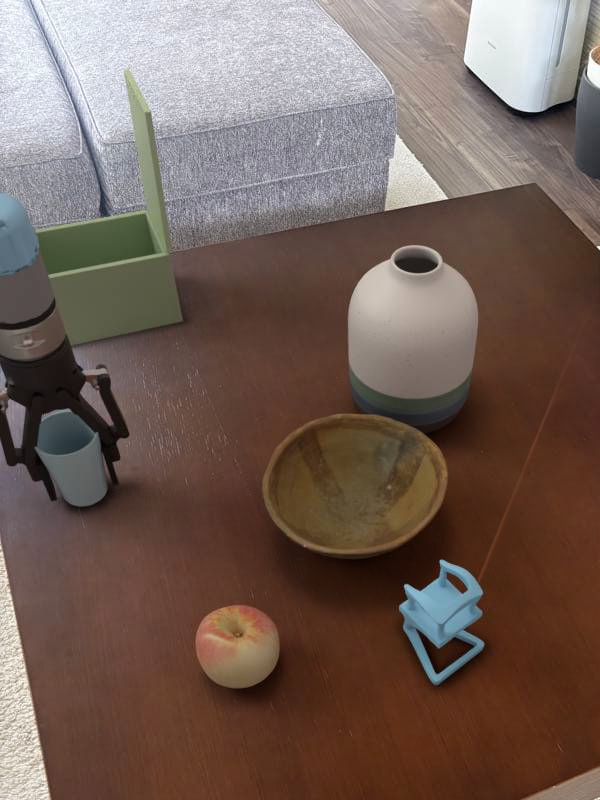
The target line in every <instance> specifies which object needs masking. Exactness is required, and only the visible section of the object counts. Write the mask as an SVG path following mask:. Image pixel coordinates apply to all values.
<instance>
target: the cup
mask: <svg viewBox="0 0 600 800" xmlns="http://www.w3.org/2000/svg"><path fill="white" fill-rule="evenodd" d="M34 448H35V450H36V451H37V453H38V455H39V457H40V458H41V460H42V462H43V463H44V465H45V467H46V469H47V470H48V472H49V474H50V477H51V479H52V481H53V483H54V485H56V487H57V489H58V491H59V492H60V494H61V496H62V498H63V499H64V500H65V501H66V502H67V503H68V504H69V505H72V506H75V507H89V506H92V505H95V504H96V503H98V502H99V501H101V500H102V499H103V498H104V497H105V496H106V493H107V491H108V482H107V474H106V469H105V463H104V462H105V460H104V456H103V453H102V450H101V443H100V438H99V435H98V432H96V434H95V433H94V432H93V431H92V430H91V429H90V428H89V426H88V425H87V424H86V423H85V422H84V421H83V420H82V419H81V418H80V417H79V416H78V415H75V414H74V413H73V412H72V411H71V410H60V411H57V412H54V413H51V414H49V415H47V416H45V417H44V418H43V417H42V419H41V424H40V427H39V435H38V444H37V447H34Z"/></svg>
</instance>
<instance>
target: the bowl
mask: <svg viewBox="0 0 600 800" xmlns="http://www.w3.org/2000/svg"><path fill="white" fill-rule="evenodd" d="M448 480H449V470H448V465H447V461H446V458H445V457H444V455H443V452H442V450H441V449H440V448H439V446H438V445H437V444H436V443H435V442H434V441H433V440H432V439H431V438H429V437H428V436H427V435H426V434H423V433H422V432H420V431H419V430H417V429H415V428H413V427H411V426H409V425H406V424H404V423H401V422H398V421H396V420H393V419H391V418H387V417H383V416H379V415H366V414H362V413H337V414H331V415H329V416H324V417H320V418H316V419H312V420H310V421H308V422H306V423H304V424H303V425H301V426H299V427H298V428H296V429H295V430H293V431H291V432H290V433H289V434H288V435H287V436H286V437H284V439H282V441H281V442H280V443H279V444H278V445H277V446H276V447H275V448H274V451H273V453H272V454H271V456H270V458H269V460H268V464H267V466H266V467H265V470H264V472H263V474H262V477H261V495H262V496H261V497H262V500H263V504H264V506H265V509H266V510H267V511H266V512H267V513H268V516H269V518H270V520H271V522H273V524H274V525H275V526H276V528H277V529H278V530H279V531H280V533H282V534H283V536H284V537H286V538H287V539H288V540H290V541H291V542H293V543H294V544H296V545H297V546H299V547H300V548H303V549H306V550H307V551H310V552H313V553H315V554H318V555H321V556H324V557H328V558H334V559H342V560H361V559H369V558H373V557H378V556H380V555H384V554H388V553H389V552H393V551H394V550H397V549H398V548H401V547H402V546H403V545H405V544H406V543H408V542H409V541H411V540H413V538H415V537H416V536H417V535H418V534H419V533H421V532H422V531H423V530H424V529H425V528H426V527H427V526H428V525H429V524H430V523H431V522H432V521H433V520H434V519H435V517H436V516H437V514H438V512H440V511H439V510H440V509H441V507H442V505H443V502H444V499H445V496H446V493H447V489H448V485H449V481H448Z"/></svg>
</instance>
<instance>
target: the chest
mask: <svg viewBox="0 0 600 800" xmlns="http://www.w3.org/2000/svg"><path fill="white" fill-rule="evenodd" d="M35 231H36V235H37V237H38V241H39V247H40V250H41V253H42V257H43V260H44V263H45V267H46V270H47V273H48V276H49V280H50V283H51V286H52V290H53V293H54V296H55V298H56V301H57V304H58V307H59V310H60V313H61V316H62V319H63V322H64V326H65V329H66V334H67V336H68V338H69V341H70V344H71V346H75V345H80V344H85V343H89V342H94V341H98V340H102V339H107V338H113V337H116V336H121V335H126V334H130V333H134V332H135V333H136V332H140V331H144V330H149V329H153V328H158V327H163V326H168V325H172V324H176V323H181V322H184V318H183V314H182V309H181V304H180V299H179V294H178V289H177V283H176V278H175V273H174V268H173V263H172V258H171V254H170V252H167V251H166V249H165V247H164V245H163V242H162V240H161V238H160V236H159V233H158V231H157V229H156V226H155V224H154V222H153V220H152V217H151V215H150V213H149V211H148V209H143V210H137V211H132V212H127V213H121V214H116V215H115V214H114V215H111V216H105V217H104V216H103V217H99V218H94V219H93V218H92V219H88V220H81V221H77V222H71V223H65V224H59V225H54V226H49V227H43V228H37V229H35Z"/></svg>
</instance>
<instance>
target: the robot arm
mask: <svg viewBox="0 0 600 800" xmlns="http://www.w3.org/2000/svg"><path fill="white" fill-rule="evenodd" d="M35 230H36V229H35V228H34V226H33V224H32V222H31V219H30V216H29V214H28V212H27V210H26V208H25V206H24V205H23V203H22V202H21V201H20V200H19V199H18V198H16V197H15V196H13V195H11V194H8V193H6V192H0V368H1V371H2V373H3V375H4V378H5V383H4V387H3V388H1V389H0V444H1V447H2V451H3V455H4V460H5V462H6V465H7V466H8V467H16V466H17V465H19V464H20V465H24V466H25V467H26V469H27V472H28V474H29V476H30V479H31V481H32V482H34V483H37V482H40V481H42V483H43V485H44V487H45V490H46V493H47V494H48V497H49V499H50V502H51V503H52V502H56V501H58V496H57V493H56V487H55V483H54V480H53V479H52V477H51V475H50V474H49V472H48V470H47V469H46V467H45V465H44V463H43V462H42V460H41V458H40V457H39V455H38V453H37V451H36V450H35V448H34V447H37V444H38V435H39V427H40V424H41V420H42V419H43V415H46V414H50V413H52V412H54V411H65V410H67V409H69V411H72V412H73V413H74V414H75V415H78V416H79V417H80V418H81V419H82V420H83V421H84V422H85V423H86V424H87V425H88V426H89V428H90V429H91V430H92V431H93V432H94V433H95V434H96V432H98V435H99V438H100V443H101V450H102V455H103V460H104V462H105V465H106V468H107V471H108V474H109V477H110V480H111V484H112V487H113V486H117V485H120V483H119V479H118V475H117V473H116V469H115V466H114V462H119V461H121V454H120V450H119V447H118V441H119V440H120V439H124V440H125V439H128V438H129V437H130V431H129V427H128V424H127V422H126V419H125V417H124V415H123V412H122V410H121V408H120V405H119V404H118V401H117V399H116V397H115V394H114V393H113V390H112V380H111V376H110V374H109V370H108V367H107V366H106V364H104V363H99V364H98V365H96V367H95V369H84V367H82V366H81V365H79V363H78V362H77V361H76V356H75V354H74V351H73V348H72V345H71V344H70V341H69V338H68V336H67V334H66V329H65V326H64V322H63V319H62V316H61V313H60V310H59V307H58V304H57V301H56V298H55V296H54V293H53V290H52V286H51V283H50V280H49V276H48V273H47V270H46V267H45V263H44V260H43V257H42V253H41V250H40V247H39V241H38V237H37V235H36V231H35ZM86 383H89V384H90V386H91V387H92V388H93V389H94V390H95V391H98V392H99V396H100V398H101V401H102V402H103V403H102V404H103V405H104V407H105V409H106V411H107V413H108V415H109V417H110V419H111V421H112V423H113V424H111V425H110V424H109V423H108V422H107V421H106V420H105V419H104V418H103V417H102V416H101V415H100V413H99V412H98V411H97V410H96V409H95V408H94V407H93V406H92V405H91V403H89V402H88V400H86V398H84V397H83V395H82V393H81V392H82V391H83V388H84V386H85V384H86ZM10 400H11V401H12V402H15V403H17V404H18V405H21V406H22V407H24V408H25V409H24V421H23V429H22V439H21V444H20V447H15V443H14V438H13V435H12V432H11V427H10V424H9V419H8V416H7V410H8V409H9V401H10Z"/></svg>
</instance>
